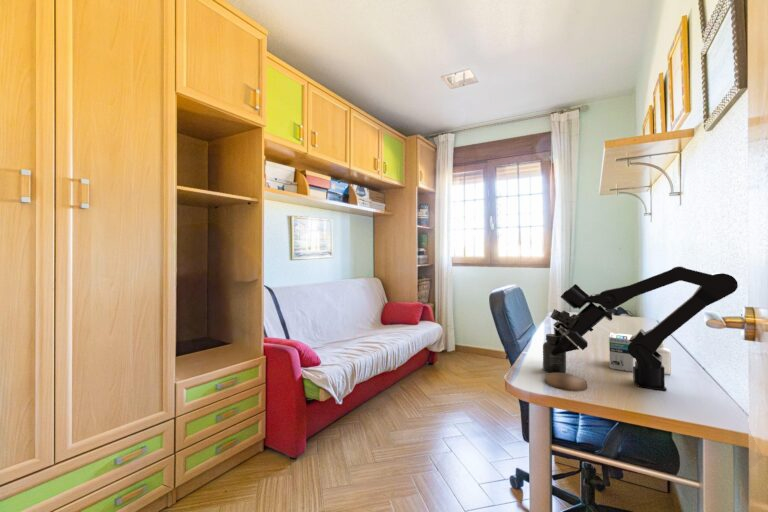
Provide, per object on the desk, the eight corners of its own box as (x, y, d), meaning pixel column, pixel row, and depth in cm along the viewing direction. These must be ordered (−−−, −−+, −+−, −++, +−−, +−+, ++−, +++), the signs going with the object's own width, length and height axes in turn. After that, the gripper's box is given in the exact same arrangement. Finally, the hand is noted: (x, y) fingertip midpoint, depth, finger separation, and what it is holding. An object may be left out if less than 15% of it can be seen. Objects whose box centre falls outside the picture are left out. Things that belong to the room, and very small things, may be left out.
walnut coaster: (585, 380, 100) (585, 376, 100) (589, 393, 90) (589, 388, 90) (545, 375, 105) (545, 370, 105) (544, 386, 95) (544, 381, 95)
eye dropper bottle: (667, 376, 104) (666, 338, 104) (646, 371, 109) (645, 335, 109) (673, 374, 106) (672, 337, 107) (652, 369, 111) (652, 333, 111)
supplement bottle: (544, 366, 113) (543, 332, 113) (566, 370, 110) (566, 334, 110) (542, 372, 107) (541, 336, 108) (565, 376, 104) (565, 338, 104)
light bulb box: (633, 372, 108) (633, 339, 108) (609, 368, 112) (608, 337, 112) (633, 364, 116) (633, 334, 116) (610, 361, 120) (610, 331, 121)
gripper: (559, 298, 117) (526, 327, 120) (575, 305, 99) (536, 339, 102) (584, 321, 115) (550, 350, 117) (605, 332, 97) (564, 366, 99)
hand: (549, 351), depth 109 cm, fingers closed on supplement bottle, 7 cm apart
